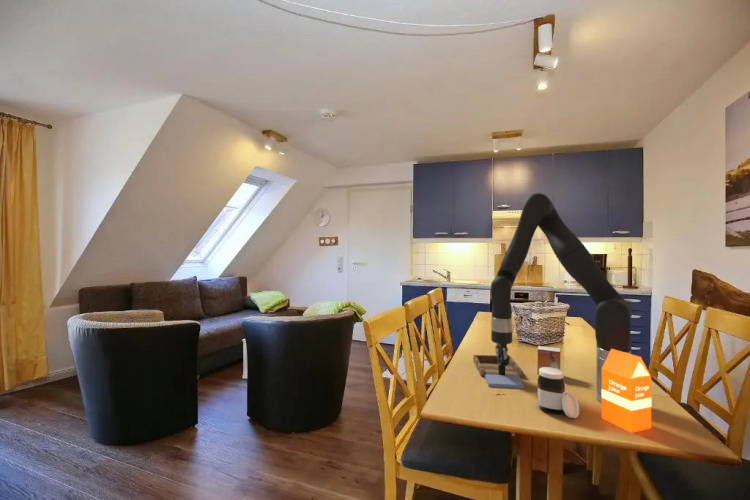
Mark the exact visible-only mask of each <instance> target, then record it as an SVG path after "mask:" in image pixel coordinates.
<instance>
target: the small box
mask: <svg viewBox="0 0 750 500" xmlns="http://www.w3.org/2000/svg"><path fill="white" fill-rule="evenodd" d="M536 363H537V367H536V368H537V372H536V373H537V375H540V374H539V369H540V368H542V367H552V368H557V369H560V370H561V348H559V347H552V346H551V347H549V346H543V345H542V346H541V345H538V347H537V362H536Z"/></svg>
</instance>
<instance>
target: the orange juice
mask: <svg viewBox="0 0 750 500" xmlns="http://www.w3.org/2000/svg"><path fill="white" fill-rule="evenodd" d="M652 401H653V400H652V375H651V374H650V372H649V369H648V368H647V366H646V363H644V361H643V359H642V356H638V355H635V354H632V353H631V354H628V353H625V352H622V351H618V350H615V349H611V350H610V353H609V355H608V357H607V359H606V361H605V363H604V365H603V367H602V403H601V419H603V420H605V421H606V422H609V423H611V424H613V425H615V426H617V427H619V428H621V429H623V430H625V431H627V432H629V433H631V434H632V433H636V432H641V431H645V430H649V429H652Z"/></svg>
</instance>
